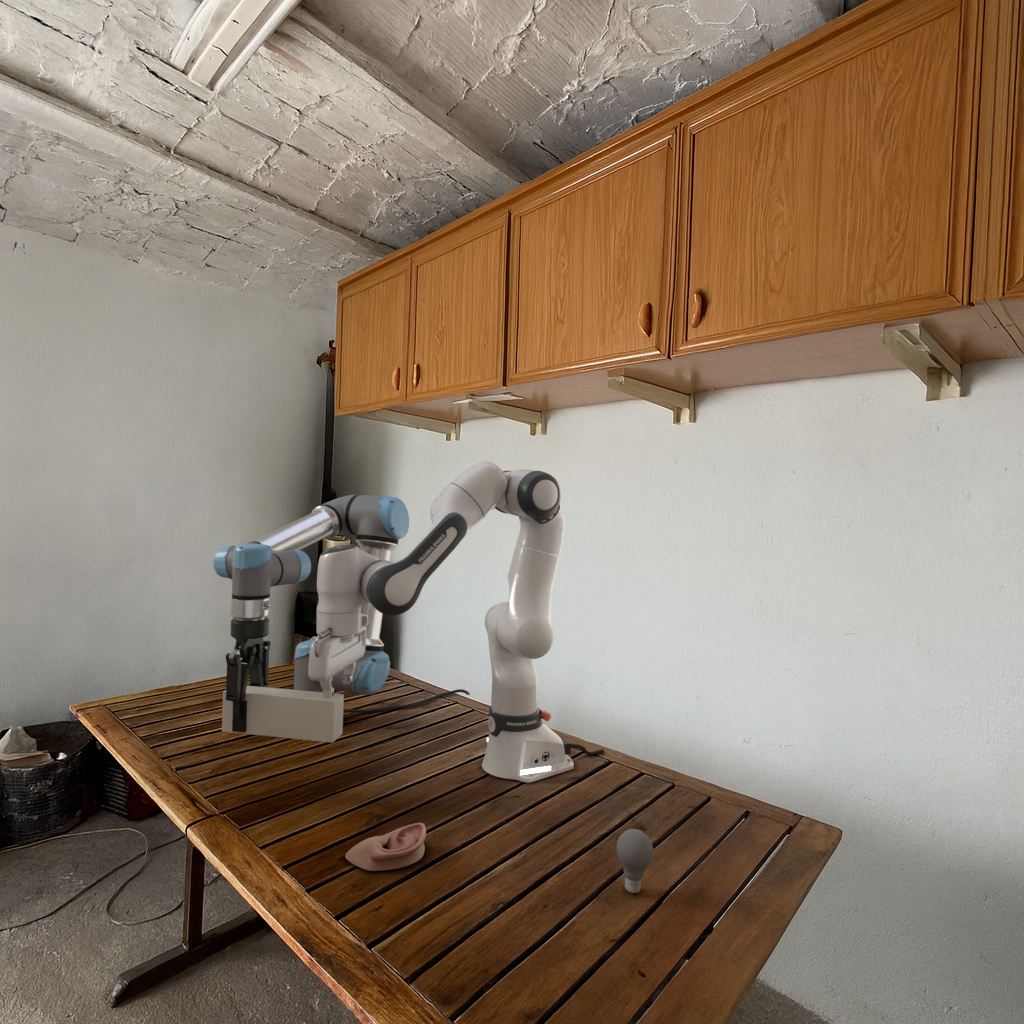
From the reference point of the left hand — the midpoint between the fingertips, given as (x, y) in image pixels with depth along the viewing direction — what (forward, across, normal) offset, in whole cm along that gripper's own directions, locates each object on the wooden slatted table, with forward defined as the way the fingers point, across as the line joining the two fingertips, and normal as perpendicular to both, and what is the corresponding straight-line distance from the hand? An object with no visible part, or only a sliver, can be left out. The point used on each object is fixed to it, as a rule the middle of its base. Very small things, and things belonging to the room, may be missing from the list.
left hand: (246, 726), depth 134 cm
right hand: (-10, 0, -20) cm, 22 cm away
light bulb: (+14, -18, -80) cm, 84 cm away
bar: (+1, 0, -8) cm, 8 cm away
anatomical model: (+14, -16, -37) cm, 43 cm away
